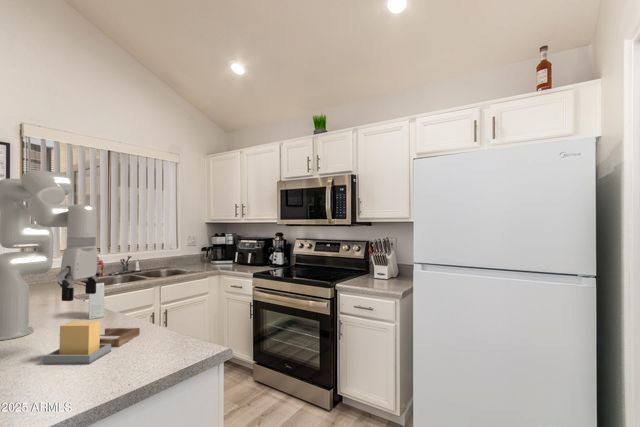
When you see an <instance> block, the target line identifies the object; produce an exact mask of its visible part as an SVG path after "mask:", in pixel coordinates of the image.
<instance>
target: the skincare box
mask: <svg viewBox="0 0 640 427" xmlns="http://www.w3.org/2000/svg"><path fill="white" fill-rule="evenodd" d="M100 318H101V319H102V318H105V282H99V283H97V282H96V293H95V294H88V319H89V320H93V319H100Z"/></svg>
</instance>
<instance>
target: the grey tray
mask: <svg viewBox="0 0 640 427" xmlns="http://www.w3.org/2000/svg"><path fill="white" fill-rule="evenodd" d="M111 351H112V347H111V344H100V348H99V349H98V350H96V351H95V352H93V353H91V354H89V355H59V348H58V349H56V350H54V351H52V352H51V351H50V352H49V353H47V354H45V355H43V365H90V364H92V363H93V362H95V361H98V360H99V359H100V358H103V357H104V356H106V355H107V354H109V353H111Z"/></svg>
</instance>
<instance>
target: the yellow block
mask: <svg viewBox="0 0 640 427" xmlns="http://www.w3.org/2000/svg"><path fill="white" fill-rule="evenodd" d="M100 334H101V320H72V321H69V322H66V323H64V324H62V325H59V348H58V349H59V355H89V354H91V353H93V352H95V351H96V350H98V349H99V348H100V338H101V337H100V336H101V335H100Z"/></svg>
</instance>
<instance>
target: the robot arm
mask: <svg viewBox="0 0 640 427" xmlns="http://www.w3.org/2000/svg"><path fill="white" fill-rule="evenodd" d="M72 189H73V180H72V179H71V177H70V176H69V175H68V174H66V173H63V172H55V171H50V170H49V171H48V170H40V169H39V170H38V169H34V170H29V171H26V172H25V173H23V174H22V176H21V177H20V178H3V179H0V246H1V247H2V248H5V249H29V248H31V249H32V248H35V250H31V251H30V250H29V251H25V250H24V251H10V252H9V251H8V252H4V253H1V254H0V341H6V340H12V339H17V338H21V337H25V336H28V335H29V334H32V333H33V332H34V327H32V326H29V323H30V320H29V316H30V314H29V313H30V286H29V284H28V282H27V281H25V280H24V279H23V278H22V277H25V276H34V275H42V274H46V273H48V272H50V271H51V270H52V267H53V264H54V242H55V238H54V232H53V229H52V228H66V246H65V248H64V250H63V253H62V257H61V262H60V263H61V264H60V271H59V272H58V273H57V274H56V276H55V278H56V280H57V284H58V285H59V287H60V289H61V302H72V301H74V293H75V292H74V289H75V288H74V287H73V286H74V284H75V282H76V281H81V280H84V279H85V280H86V281H85V288H84V289H85V290H84V291H85V294H86V295H89V294H95V293H96V284H97V282H98V281H99V280H98V278H99V276H100V272H101V270H102V267H101V266H100V265H98V258H97V249H96V248H97V247H96V244H97V242H96V240H97V238H96V237H97V235H96V234H97V208H96V206H94V205H91V204H90V205H89V204H67V203H66V204H65V203H63V201H64V200H65V198H66V197H67V196H68V195H69V194H70V193H71V192H72ZM23 202H27V203H28V205H27V206H28V207H27V206H26V205H25V204H24V203H23ZM31 218H32V220H33V221H34V222H35V223H31Z"/></svg>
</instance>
